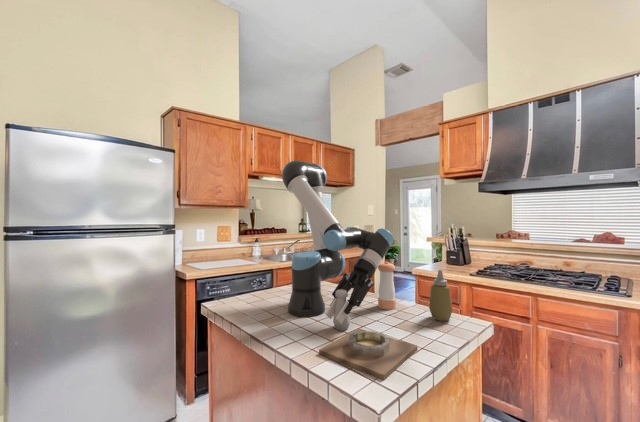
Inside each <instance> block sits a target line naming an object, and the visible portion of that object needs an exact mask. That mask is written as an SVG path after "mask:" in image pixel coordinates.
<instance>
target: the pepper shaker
mask: <svg viewBox="0 0 640 422" xmlns="http://www.w3.org/2000/svg"><path fill="white" fill-rule="evenodd" d="M377 270H378V271H379V286H378V287H379V288H378V297H377V307H378V309H382V310H388V311H389V310H390V311H391V310H392V311H393V310H395V309H396V307H397V301H396V300H397V299H396V298H395V297H396V296H395V295H396V289H395V284H394V272H395V270H396V267H395V265H394V264H393V263H391V262H390V263H389V261H384V262H382V263H380V264H379V266H378V268H377Z"/></svg>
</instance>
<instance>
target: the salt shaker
mask: <svg viewBox="0 0 640 422" xmlns="http://www.w3.org/2000/svg"><path fill="white" fill-rule="evenodd" d="M348 295H349V292H347V291H346V290H343V289H339V290H337V291H336V292H335V296H336V297H337V301H336V307H335V313H334V315H333V319H332V320H333V321H332V323H333V325H334V327H335V329H336V330H337V331H342V332H343V331H347V330H348V329H349V326H350V324H351V318H350V315H349V314H350V313H349V314H348V315H347V316H346V317H345V319H344V321H343V322H342V324H341V323H339V322H338V321H337V319H336V317H337V316H338V314H339V312H340V311H341V309H342V308H343V306H344V304H345V303H346V302H347V298H348Z"/></svg>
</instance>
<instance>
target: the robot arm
mask: <svg viewBox="0 0 640 422" xmlns="http://www.w3.org/2000/svg"><path fill="white" fill-rule="evenodd" d="M281 179H282V182H283V184H284V187H285V188H286V189H287V191H288V192H289V193H291V194H293V195H294V196H295V198H296V199H297V200H298V202H299V203H300V205H301V206H302V207H303V209H304V210H305V211H306V213H307V217H308V223H309V227H310V228H309V229H310V232H311V237H312V243H313V248H312V250H308V251H302V252H301V251H300V252H298V253H295V254H294V255H293V256H292V259H291V262H292V263H291V287H292V288H291V295H290V297H289V301H288V304H287V313H289V314H290V315H292V316H296V317H314V316H319V315H321V314H324V313H325V316H327V317H328V319H330V320H331V319H332V318H333V317H334V313H335V307H336V301H337V297H336V296H335V292H336V291H337V290H339V289H343V290H346V291H347V292H348V293H349V292H350V291H351V290H352V291H351V294H350V296H349V299H346V303H345V304H344V306H343V308H342V309H341V311H340V312H339V314H338V316H337V317H336V319H337V321H338V322H339V323H341V324H342V322H343V321H344V319H345V317H346V316H347V315H348V314H350V313H351V311H352V310H353V309H354V307H360V306H361V305H362V303H363V301H364V299H365V298H366V296H367V294H368V293H369V291H370V289H371V288H372V287H374V285H375V284H374V282H373V280H371V279H372V277H373V276H374V274H375V272H377V271H376V270H378V266H379V265H380V264H382V263H381V262H382V261H383V260H384V258H385V256H386V254H387V253H388V251H389V250H390V248H391V246H392V244H393V242H394V239H395V238H394V235H393V233H392V232H391V231H389V230H388V229H385V228H384V227H383V228H382V227H381V228H378V229H377V230H376V231H375V232H374V231H368V230H365V229H361V228H359V227H354V226H348V227H346V228H343V226H342V225H341V224H340V223H339V221H338V220H337V219H336V217H335V216H334V214H333V213H332V212H331V211H330V209H328V207H327V206H326V203H325V200H324V199H325V198H324V193H323V192H324V191H325V190H326V188H325V186H326V184H327V181H328V175H327V172H326V170H325V168H324V167H323V166H321V165H318V163H317V164H316V163H313V162H312V163H310V162H306V161H301V160H292V161H290V162H287V164H285V166H284V167H283V168H282V172H281ZM356 248H357V249H360V250H363V252H362V253H361V254H360V255H359V257H358V258H359V259H357V261H355V264H354V265H353V270H352V271H351V272H350V273H349V274H347V272H344V271H345V268H346V258H345V256H344V255H343V254H342V253H341V251H343V250H350V249H356ZM343 273H344V274H343ZM342 274H343V276H342V278H341V280H340V281H339V283H338V285H337V286H336V287H335V288H334V290H333V292H331V295H332V296H333V300H332V301H331V303H330V304H329V308H328V309H326V304H325V302H324V299H323V295H322V292H321V291H322V289H321V287H322V286H321V285H322V283H321V282H325V281H327V280H332V279H333V280H334V279H336V278H337V277H340V276H341V275H342Z"/></svg>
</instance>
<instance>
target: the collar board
mask: <svg viewBox="0 0 640 422" xmlns="http://www.w3.org/2000/svg"><path fill="white" fill-rule="evenodd" d="M415 352H418V344H413V343H411V342H406V341H403V340H399V339H397V338H393V337H389V336H387V335H385V334H384V333H381V332H378V331H374V330H373V331H372V330H365V329H362V328H356V329H355V330H353V331H351V332H348V333H347V334H344V335H343V336H340V338H338V339H336V340H334V341H333V342H332V341H331V343H329V344H326V346H323V347H321V348H320V349H319V350H318V355H320V356H323V357H325V358H327V359H330V360H333V361H335V362H337V363H340V364H343V365H346V366H348V367H350V368H353V369H355V370H358V371H361V372H363V373H365V374H368V375H370V376H373V377H375V378H377V379H381V380H382V381H385V380H387V378H389V377H390V376H391V375H392V374H393V373H394V372H395V371H396V370H397V369H399V367H401V366H402V364H404V362H406V361H408V360H409V358H410V357H412V355H414V354H415Z"/></svg>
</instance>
